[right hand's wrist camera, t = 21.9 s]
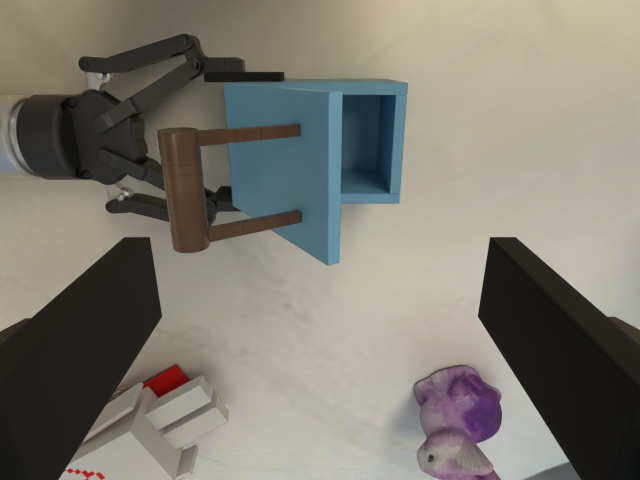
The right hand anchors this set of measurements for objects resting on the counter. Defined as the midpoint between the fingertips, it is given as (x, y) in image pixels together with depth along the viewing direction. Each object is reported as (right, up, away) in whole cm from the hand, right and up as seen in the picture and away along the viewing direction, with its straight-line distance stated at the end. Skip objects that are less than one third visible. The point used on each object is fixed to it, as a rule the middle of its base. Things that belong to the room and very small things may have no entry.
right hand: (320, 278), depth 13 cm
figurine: (+17, -19, +45) cm, 52 cm away
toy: (-26, -23, +46) cm, 58 cm away
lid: (-3, +7, +17) cm, 18 cm away
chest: (0, +13, +32) cm, 35 cm away
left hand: (-3, +10, +26) cm, 28 cm away
